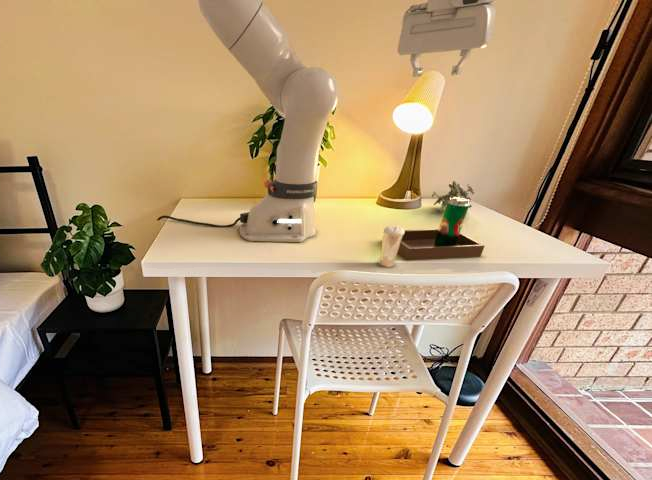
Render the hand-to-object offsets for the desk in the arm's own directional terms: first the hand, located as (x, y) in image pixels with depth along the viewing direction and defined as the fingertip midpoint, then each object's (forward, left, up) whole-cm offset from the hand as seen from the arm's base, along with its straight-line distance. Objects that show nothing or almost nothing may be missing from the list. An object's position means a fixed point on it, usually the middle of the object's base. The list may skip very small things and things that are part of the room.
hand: (435, 76), depth 89 cm
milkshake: (-15, -25, -38) cm, 48 cm away
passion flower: (+26, +16, -38) cm, 48 cm away
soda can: (+5, -16, -37) cm, 41 cm away
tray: (+1, -16, -37) cm, 41 cm away
